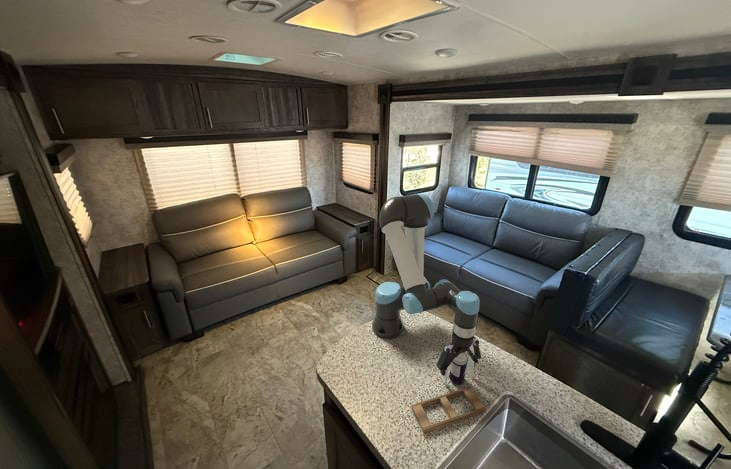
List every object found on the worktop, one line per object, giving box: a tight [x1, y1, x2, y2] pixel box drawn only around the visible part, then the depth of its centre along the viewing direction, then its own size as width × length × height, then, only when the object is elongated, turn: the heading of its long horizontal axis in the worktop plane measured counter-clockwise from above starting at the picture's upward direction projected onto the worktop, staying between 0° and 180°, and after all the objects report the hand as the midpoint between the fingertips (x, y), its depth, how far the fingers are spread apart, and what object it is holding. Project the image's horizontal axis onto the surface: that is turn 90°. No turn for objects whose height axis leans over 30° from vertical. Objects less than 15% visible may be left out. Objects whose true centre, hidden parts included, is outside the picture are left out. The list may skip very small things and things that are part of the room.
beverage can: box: [448, 351, 468, 385], centre depth 109 cm, size 6×6×12 cm
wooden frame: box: [410, 386, 487, 435], centre depth 99 cm, size 9×24×2 cm, turn 107°
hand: (456, 376), depth 110 cm, fingers open, 11 cm apart
